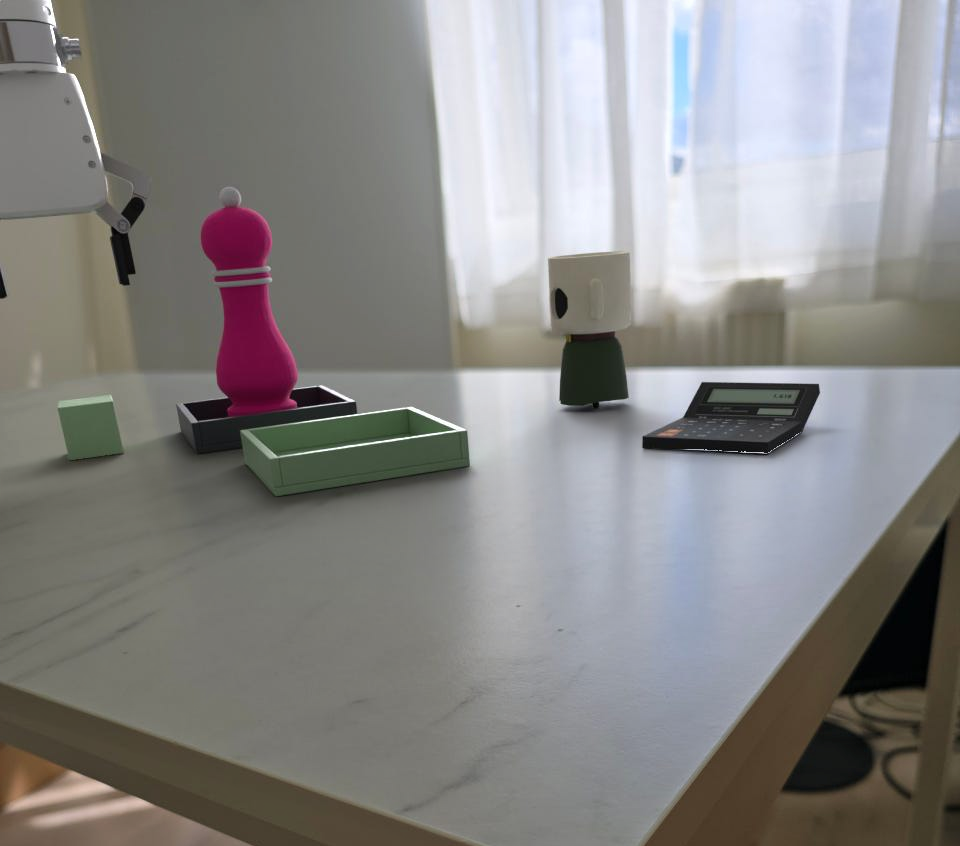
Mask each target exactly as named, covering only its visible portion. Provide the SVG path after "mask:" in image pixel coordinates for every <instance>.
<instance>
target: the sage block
mask: <svg viewBox="0 0 960 846" xmlns="http://www.w3.org/2000/svg"><path fill="white" fill-rule="evenodd" d="M57 412H58V416H59V420H60V426H61V430H62V434H63V438H64V442H65V448H66V451H67V457H68V460H69V461H70V460H71V461H77V460H76V459H78V460H83V459H84V458H85V459H90V458H91V459H92V458H99V456H100V457H106V456H105V455H107V456H113V455H112V454H114V455H119V454H124V453H125V452H124V448H123V447H124V446H123V442H122V437H121V432H120V428H119V423H118V418H117V413H116V408H115V404H114V400H113V397H112V395H111V394H107V395H99V396H93V397H91V396H90V397H83V398H82V397H81V398H76V399H75V398H74V399H67V400H59V401H57Z"/></svg>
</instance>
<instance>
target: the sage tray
mask: <svg viewBox="0 0 960 846" xmlns="http://www.w3.org/2000/svg"><path fill="white" fill-rule="evenodd" d="M240 434H241V440H242V446H243V448H242V452H243V457H244V463H245V464H246V466H248V468H249V469H250V470H251V471H252V472H253V473H254V475H256V476H257V477H258V478H259V480H260V481H261V482H262V483H263V484H264V485H265V486H266V488H267V489H268V490H269V491H270V493H272V495H274V496H275V497H282V496H288V495H295V494H301V493H307V492H312V491H313V492H314V491H320V490H326V489H332V488H338V487H344V486H350V485H351V486H352V485H358V484H364V483H371V482H376V481H377V482H378V481H382V480H390V479H395V478H402V477H409V476H413V475H414V476H415V475H421V474H427V473H433V472H439V471H440V472H441V471H446V470H453V469H458V468H465V467H470V466H471V460H470V448H469V436H468V429H465V428H463V427H460V426H458V425H455V424H454V423H451V422H449V421H446V420H444V419H442V418H439V417H436V416H434V415H432V414H430V413H427V412H425V411H423V410H420V409H418V408H416V407H413V406H407V407H401V408H400V407H399V408H394V409H393V408H392V409H387V410H386V409H385V410H379V411H372V412H371V411H370V412H364V413H357V414H356V415H348V416H341V417H334V418H326V419H319V420H312V421H304V422H297V423H290V424H282V425H275V426H268V427H261V428H253V429H248V430H247V429H246V430H240Z"/></svg>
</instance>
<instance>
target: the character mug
mask: <svg viewBox="0 0 960 846" xmlns="http://www.w3.org/2000/svg"><path fill="white" fill-rule="evenodd" d="M547 271H548V289H549V290H548V293H549V296H548V299H549V300H548V301H549V315H550V327H551V331H552V332H554V333H556V334H559V335H560V334H561V335H565V342H564V346H563V348H562V353H561V354H562V355H561V362H560V363H561V365H560V375H559V397H558V398H559V399H558V402H560V405H564V406H568V407H577V406H578V407H583V406H588V405H591V408H592V409H594V410H598V409H599V408H600V403H603V402H604V403H605V402H612V401H622V400H627V399H630V397H629V395H630V394H629V388H628V387H629V385H628V377H627V371H626V364H625V357H624V351H623V345H622V343H621V341H620V340H619V338H618V337H617V336H616V332H619V331H622V330H626V329H627V328H630V326H631V325H632V288H631V287H632V284H631V283H632V282H631V251H628V250H617V251H615V250H614V251H599V252H586V253H585V252H584V253H576V254H567V255H566V254H565V255H557V256H550V257H548V258H547Z"/></svg>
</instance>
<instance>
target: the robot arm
mask: <svg viewBox="0 0 960 846" xmlns="http://www.w3.org/2000/svg"><path fill="white" fill-rule="evenodd" d="M56 24H57V23H56V19H55V15H54V11H53V5H52V1H51V0H0V221H1V220H4V221H9V220H23V219H24V220H25V219H37V218H48V217H49V218H50V217H61V216H71V215H82V214H90V213H95V215H97V217H99V218H100V219H101V220H102V221H104V223H106V225H107V226H109V227H110V233H111V236H109V241H110V247H111V251H112V256H113V260H114V265H115V270H116V275H117V279H118V284H119V285H121V286H123V287H125V286H131V282H130V278H129V276H130V275H137V272H136V267H135V261H134V257H133V252H132V247H131V242H130V237H129V232H130V230H131V229H132V227H133V226H134V224H135V223H136V222H137V220H138V219H139V217H140V216H141V215H142V213H143V212H144V210H145V208H146V203H147V200H148V197H149V193H150V189H151V186H152V182H153V177H152V175H151V174H150V173H149V172H147V171H145V170H144V169H140V168H138V167H136V166H133V165H131V164H129V163H126V162H124V161H123V160H120V159H117V158H115V157H113V156H111V155H108V154H105V153H104V152H101V150H100V146H99V142H98V139H97V135H96V132H95V131H96V130H95V127H94V124H93V121H92V119H91V116H90V115H91V114H90V111H89V110H88V109H89V108H88V105H87V102H86V98H85V96H84V93H83V91H82V88H81V85H80V83H79V80H78V78H77V77H76V75H75V74H74V73H70V72H67V71H66V65H69V61H70V62H71V61H73V59H83V55H82V49H81V45H80V41H79V40H80V39H79V38H69V37H68V36H64V37H63V33H59V31H58V27H57V25H56ZM107 175H110V176H112V177H115V178H117V179H119V180H122V181H125V182H127V183H128V184H129V185H131V187H132V188H131V189H132V190H131V194H130V198H129V201H128V202H127V204H126V205H125V207H124V208H123V210H122V211H121V212H119V211H118V210H117V209H116V208H115V207H114V206H113V205H112V204H111V203H109V202H108V201H109V188H108V187H109V186H108V181H107V180H108V179H107ZM2 266H3V265H2V263H1V261H0V300H1V299H2V300H4V299H7V297H9V296H10V295H9V291H8V286H7V281H6V279H5V274H4V271H3V267H2Z"/></svg>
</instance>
